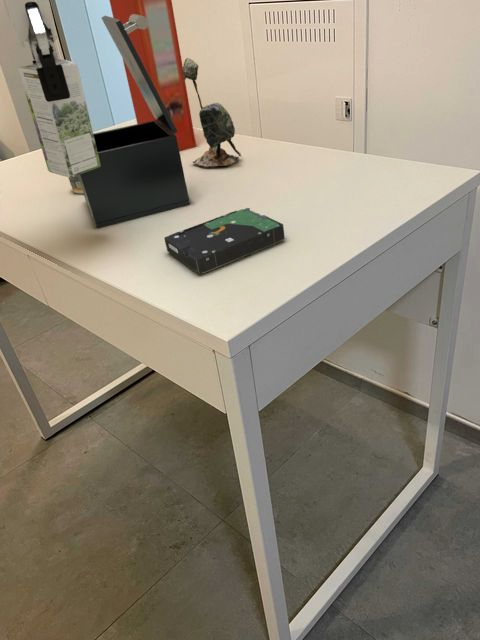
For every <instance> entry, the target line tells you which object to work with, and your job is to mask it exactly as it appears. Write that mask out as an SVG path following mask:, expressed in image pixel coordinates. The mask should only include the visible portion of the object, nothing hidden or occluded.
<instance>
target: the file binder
mask: <svg viewBox="0 0 480 640" xmlns="http://www.w3.org/2000/svg"><path fill="white" fill-rule="evenodd" d="M108 1H109V5H110V8H111V13H112V18H115V19H119V20H121V22H122V24H125V23H127V22H128V21H129V17H130V16H131V15H132V14H136V15H140V16H144V17H146V19H147V20H148V27H147V28H146V29H144V30H141V29H136V30H134V31H132V32H131V33H129V34H128V36H129V38H130V40H131V42H132V44H133V45H134V47H135V49H136V51H137V53H138V55H139V57H140V59H141V61H142V63H143V65H144V67H145V69H146V71H147V73H148V75H149V77H150V79H151V80H152V82H153V84H154V86H155V88H156V90H157V92H158V94H159V96H160V98H161V100H162V102H163V104H164V106H165V108H166V110H167V112H168V113H169V115H170V117H171V119H172V121H173V123H174V125H175V127H176V129H177V131H178V132H176V133H175V135H176V137H177V142H178V147H179V152H180V151H183V150H184V151H185V150H188V149H192V148H196V145H197V143H196V136H195V131H194V125H193V119H192V113H191V107H190V102H189V95H188V90H187V84H186V80H185V81H183V79H184V74H183V73H182V68H183V66H184V64H183V61H182V55H181V48H180V44H179V36H178V31H177V25H176V19H175V13H174V6H173V1H172V0H108ZM122 63H123V66H124V71H125V76H126V80H127V84H128V89H129V93H130V98H131V102H132V107H133V111H134V116H135V120H136V124H140V123H145V122H150V121H154V120H157V119H155V118H154V116H153V114H152V112H151V110H150V108H149V106H148V104H147V103H146V101H145V99H144V97H143V95H142V93H141V91H140V89H139V88H138V86H137V84H136V82H135V80H134V78H133V76H132V74H131V73H130V71H129V69H128V67H127V65H126V63H125V61H124V60H123V59H122Z"/></svg>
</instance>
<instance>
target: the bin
mask: <svg viewBox="0 0 480 640" xmlns="http://www.w3.org/2000/svg"><path fill="white" fill-rule="evenodd" d="M93 135H94V139H95V143H96V148H97V152H98V156H99V161H100V165H101V166H100V167H98V168H95V169H93V170H90V171H88V172H85V173H82V174H79V175H78V178H79V181H80V184H81V187H82V191H83V193H82V194H83V197H84V200H85V203H86V205H87V208H88V210H89V212H90V215H91V218H92V219H93V222H94V225H95V226H96V228H97V229H99V228H103V227H107V226H111V225H114V224H115V225H116V224H119V223H122V222H127V221H130V220H131V221H132V220H134V219H138V218H142V217H147V216H149V215H155V214H157V213H161V212H165V211H170V210H172V209H177V208H180V207H184V206H189V205H191V202H190V197H189V193H188V188H187V182H186V177H185V173H184V168H183V163H182V157H181V153H180V151H179V147H178V142H177V137H176V135H175V134H173V133H172V132H171V131H170V130H169V129H167V128H166V127H165V126H164V125H163V124H161V123H160V122H159V121H158V120H154V121H150V122H145V123H140V124H137V123H136V124H131V125H126V126H123V127H117V128H113V129H108V130H104V131H100V132H99V131H98V132H93Z"/></svg>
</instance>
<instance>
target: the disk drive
mask: <svg viewBox="0 0 480 640" xmlns="http://www.w3.org/2000/svg"><path fill="white" fill-rule="evenodd" d="M163 239H164V243H165V247H166V251H167V252H168V253H169V254H170V255H172V256H173V257H174V258H176V259H177V260H178V261H180V262H181V263H183V264H184V265H185V266H187V267H188V268H190V269H191V270H192V271H194V272H196V273H197V274H199V275H201V274H204V273H207V272H210V271H212V270H215V269H218V268H220V267H222V266H226V265H227V264H229V263H232V262H234V261H237V260H239V259H242V258H244V257H245V256H248V255H251V254H254V253H256V252H259V251H261V250H264V249H266V248H268V247H271V246H273V245H276V244H278V243H280V242H281V241H283V240H285V227H284V223H281V222H279V221H278V220H275V219H273V218H271V217H269V216H268V215H265V214H263V215H262V214H260V213H258V212H256V211H254V210H251V208H250V207H246V208H242V209H239V210H234V211H231V212H229V213H226V214H224V215H220V216H217V217H215V218H212V219H210V220H206V221H205V222H202V223H198V224H196V225H194V226H191V227H190V226H189V227H188V228H185V229H183V230H179V231H177V232H174V233H171V234H169V235H167V236H164V238H163Z"/></svg>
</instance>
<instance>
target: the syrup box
mask: <svg viewBox="0 0 480 640" xmlns="http://www.w3.org/2000/svg"><path fill="white" fill-rule="evenodd" d="M58 59H59V63H60V64H61V65H62V68H63V72H64V75H65V79H66V82H67V86H68V89H69V93H70V98H68V99H62V100H57V101H51V102H48V101H46V99H45V96H44V93H43V90H42V86H41V83H40V80H39V77H38V73H37V70H36V68H38V66H37V63H36V64H33V63H32V64H26V65H23V66H19V67H18V73H19V76H20V77H19V78H20V81H21V83H22V86H23V90H24V94H25V97H26V100H27V103H28V107H29V111H30V113H31V117H32V120H33V123H34V127H35V130H36V134H37V138H38V141H39V145H40V147H41V150H42V154H43V158H44V161H45V164H46V168H47V171H48V172H49V173H52V174H55V175H58V176H62V177H65V178H68V177H69V178H71V177H74V176H77V175H79V174H82V173H85V172H88V171H90V170H93V169H95V168H98V167H100V166H101V165H100V161H99V156H98V152H97V148H96V143H95V139H94V135H93V134H94V131H93V127H92V122H91V118H90V113H89V110H88V105H87V101H86V96H85V92H84V88H83V84H82V80H81V75H80V71H79V66H78V64H77V63H76V62H74V61H71V60H68V59H62V58H58ZM69 178H68V179H69Z"/></svg>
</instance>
